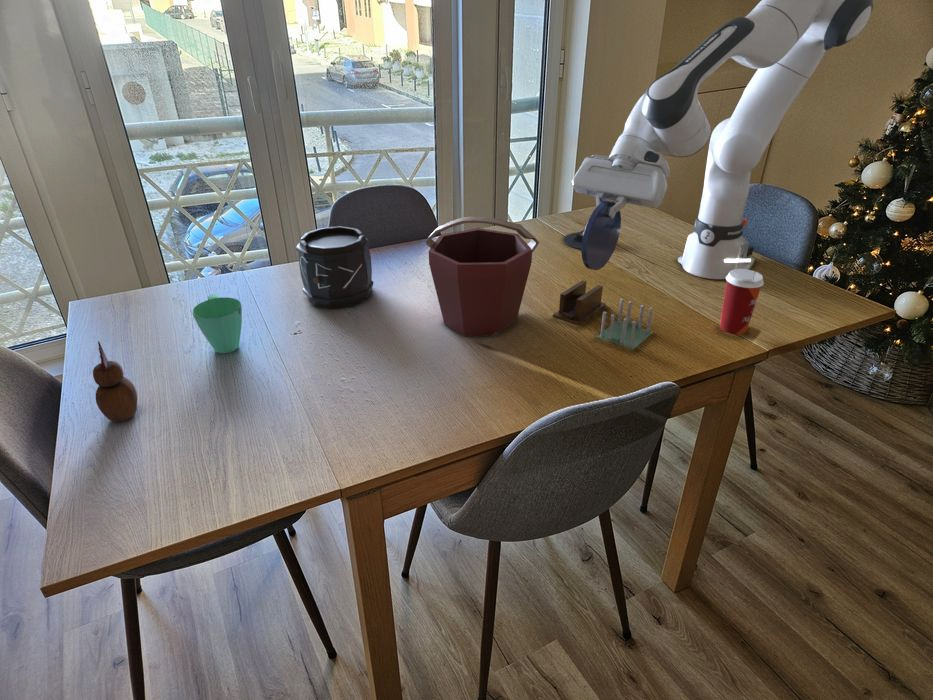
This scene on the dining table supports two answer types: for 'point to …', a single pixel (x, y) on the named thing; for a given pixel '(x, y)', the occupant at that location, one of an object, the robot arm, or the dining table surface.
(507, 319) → the bucket
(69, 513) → the dining table surface
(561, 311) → the napkin holder
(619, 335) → the dish rack
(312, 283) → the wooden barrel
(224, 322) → the mug
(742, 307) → the paper cup
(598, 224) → the plate
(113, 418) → the wooden figurine
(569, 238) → the dark blue round base
